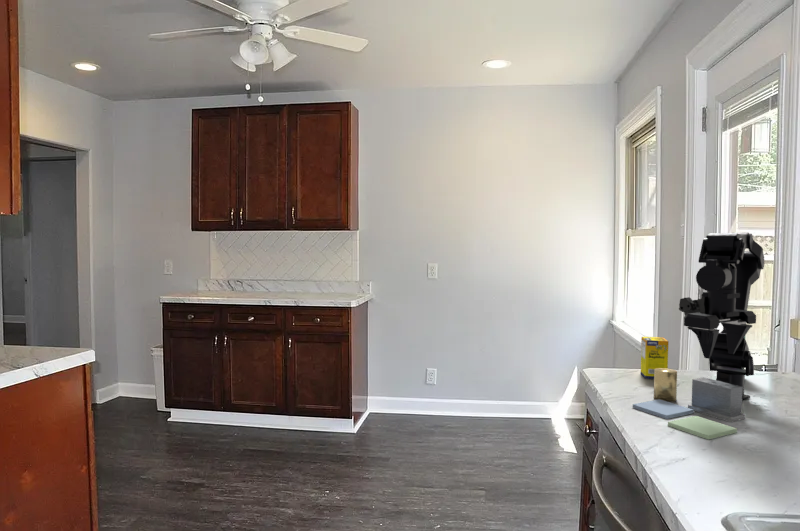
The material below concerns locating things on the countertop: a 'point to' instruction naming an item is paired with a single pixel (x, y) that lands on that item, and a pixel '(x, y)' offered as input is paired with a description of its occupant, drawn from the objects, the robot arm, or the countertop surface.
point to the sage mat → (702, 427)
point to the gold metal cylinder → (665, 384)
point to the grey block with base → (717, 399)
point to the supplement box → (653, 355)
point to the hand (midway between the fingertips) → (719, 356)
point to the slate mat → (663, 409)
